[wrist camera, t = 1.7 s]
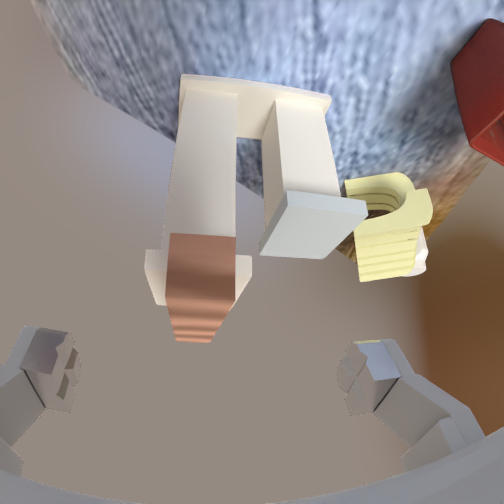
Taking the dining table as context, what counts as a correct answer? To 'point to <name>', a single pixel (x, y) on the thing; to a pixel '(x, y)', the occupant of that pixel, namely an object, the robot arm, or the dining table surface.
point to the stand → (274, 172)
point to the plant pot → (482, 89)
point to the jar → (420, 255)
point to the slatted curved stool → (388, 224)
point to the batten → (199, 284)
